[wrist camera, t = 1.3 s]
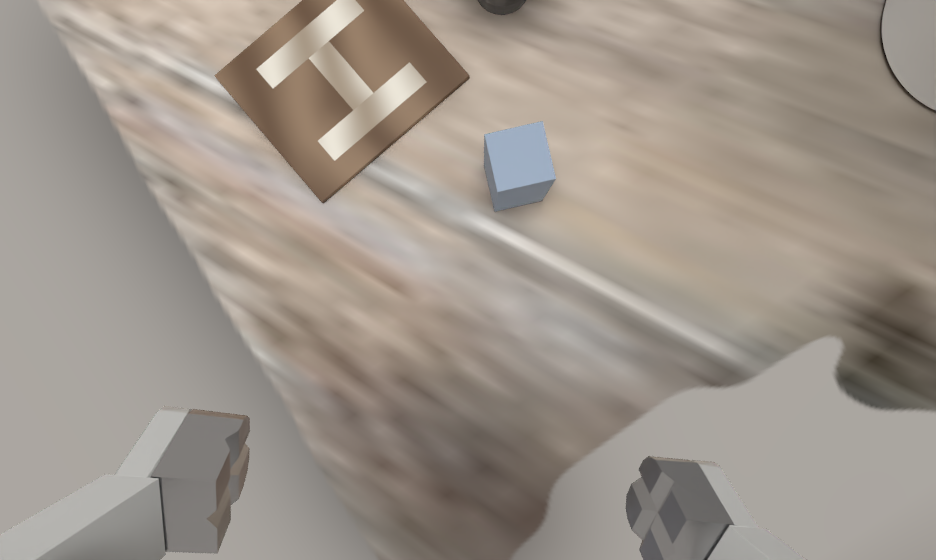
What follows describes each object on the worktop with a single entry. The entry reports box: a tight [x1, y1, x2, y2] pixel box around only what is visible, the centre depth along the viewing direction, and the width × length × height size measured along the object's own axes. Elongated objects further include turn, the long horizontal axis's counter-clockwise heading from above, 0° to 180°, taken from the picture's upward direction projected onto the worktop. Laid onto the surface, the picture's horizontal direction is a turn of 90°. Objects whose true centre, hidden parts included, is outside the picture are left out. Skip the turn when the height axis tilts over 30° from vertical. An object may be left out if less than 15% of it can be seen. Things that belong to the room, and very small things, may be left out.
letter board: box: [215, 0, 469, 203], centre depth 43 cm, size 16×14×1 cm
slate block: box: [484, 121, 556, 212], centre depth 39 cm, size 4×4×8 cm
